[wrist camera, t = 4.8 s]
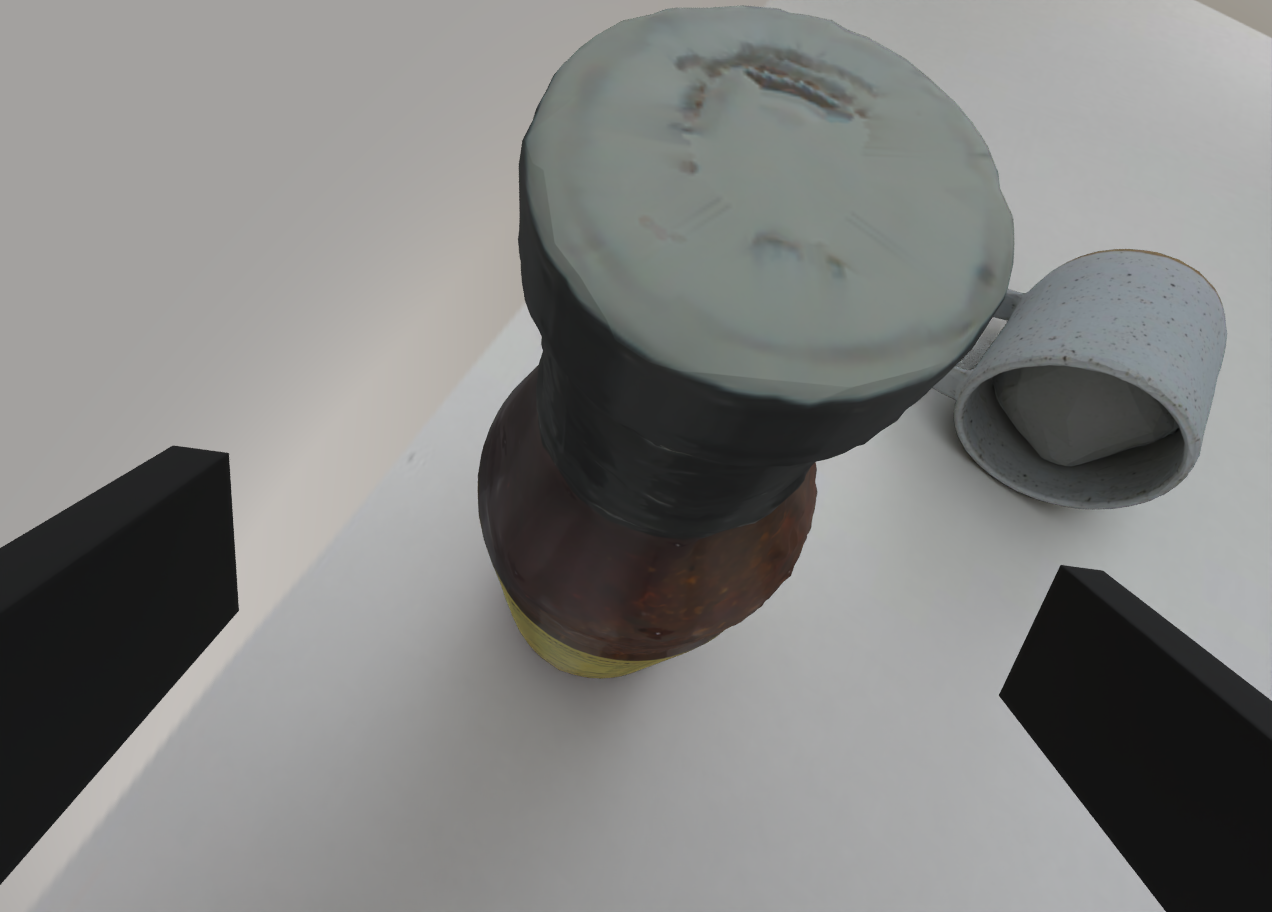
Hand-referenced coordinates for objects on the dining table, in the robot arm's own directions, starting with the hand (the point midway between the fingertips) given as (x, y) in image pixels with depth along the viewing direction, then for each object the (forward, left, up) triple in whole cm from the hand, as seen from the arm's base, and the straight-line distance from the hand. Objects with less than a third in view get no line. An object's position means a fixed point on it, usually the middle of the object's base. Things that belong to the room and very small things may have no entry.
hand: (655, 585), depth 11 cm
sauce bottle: (0, +2, -13) cm, 13 cm away
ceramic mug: (+16, +14, -13) cm, 25 cm away
